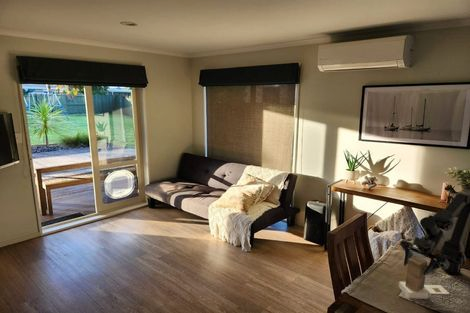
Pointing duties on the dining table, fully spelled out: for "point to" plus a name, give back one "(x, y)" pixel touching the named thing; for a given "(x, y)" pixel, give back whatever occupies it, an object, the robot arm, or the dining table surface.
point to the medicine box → (416, 254)
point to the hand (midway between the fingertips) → (413, 269)
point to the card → (435, 289)
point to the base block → (412, 291)
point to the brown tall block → (415, 273)
